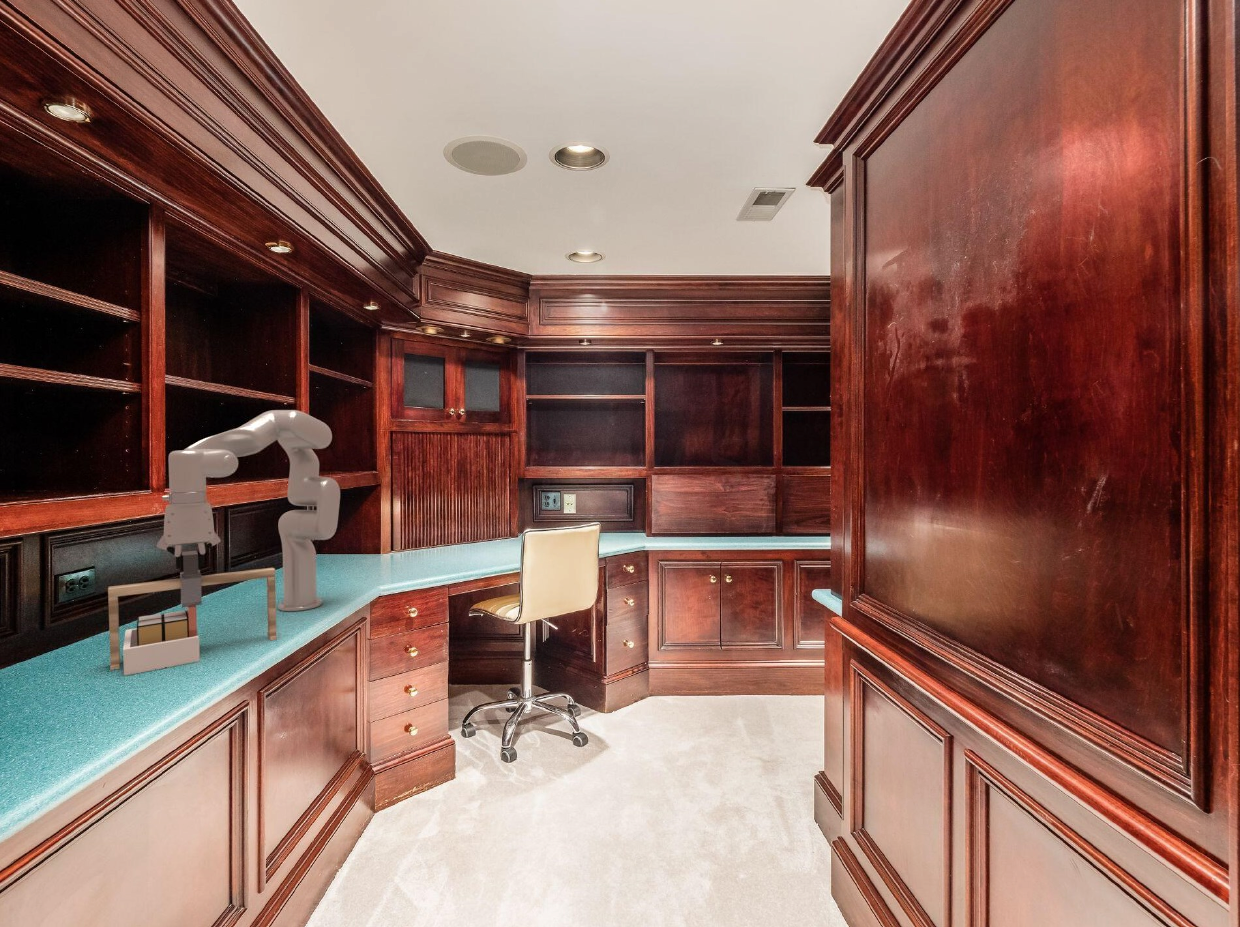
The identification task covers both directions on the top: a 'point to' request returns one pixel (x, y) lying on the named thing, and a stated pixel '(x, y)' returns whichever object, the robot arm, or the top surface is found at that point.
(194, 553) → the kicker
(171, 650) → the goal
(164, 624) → the puzzle cube
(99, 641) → the top surface
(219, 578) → the rail gantry
